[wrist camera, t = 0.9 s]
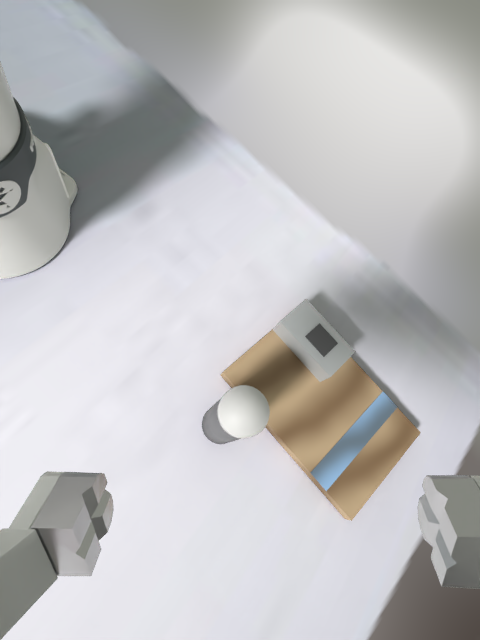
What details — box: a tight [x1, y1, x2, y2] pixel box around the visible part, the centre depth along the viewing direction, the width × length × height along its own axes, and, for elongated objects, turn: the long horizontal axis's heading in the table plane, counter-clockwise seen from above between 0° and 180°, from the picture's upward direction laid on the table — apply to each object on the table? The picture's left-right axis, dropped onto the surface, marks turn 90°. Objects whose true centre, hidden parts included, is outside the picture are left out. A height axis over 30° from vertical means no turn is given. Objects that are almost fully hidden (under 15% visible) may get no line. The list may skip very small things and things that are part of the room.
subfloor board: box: [221, 329, 420, 521], centre depth 45 cm, size 20×13×2 cm, turn 42°
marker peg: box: [202, 385, 270, 444], centre depth 37 cm, size 4×4×11 cm
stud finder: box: [273, 299, 355, 382], centre depth 45 cm, size 8×4×3 cm, turn 43°
